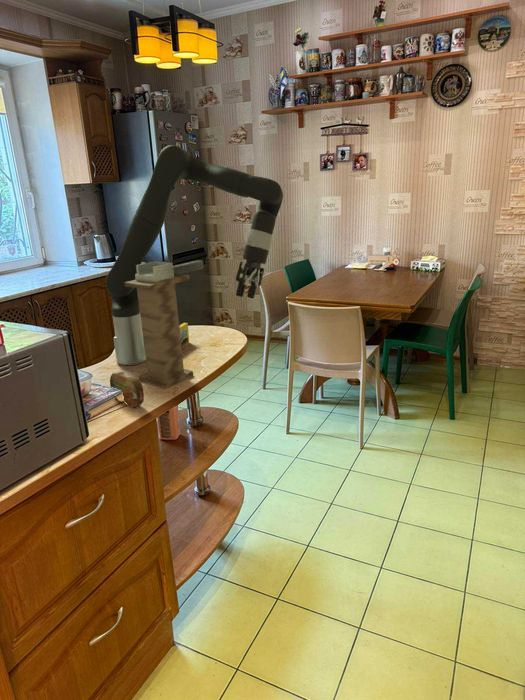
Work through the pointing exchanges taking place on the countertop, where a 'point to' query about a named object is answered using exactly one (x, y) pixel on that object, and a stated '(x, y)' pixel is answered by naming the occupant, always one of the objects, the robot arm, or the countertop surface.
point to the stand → (161, 332)
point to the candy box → (184, 334)
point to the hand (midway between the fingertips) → (244, 297)
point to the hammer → (164, 270)
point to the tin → (128, 388)
